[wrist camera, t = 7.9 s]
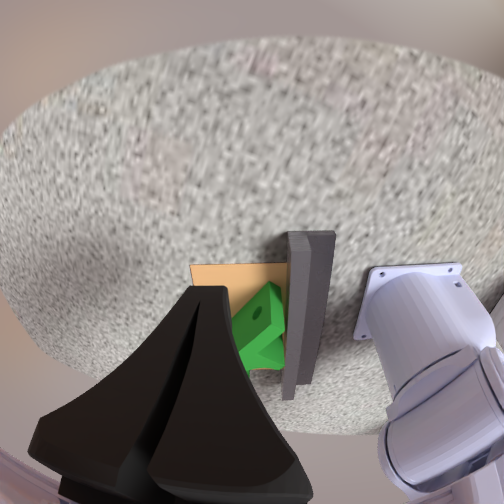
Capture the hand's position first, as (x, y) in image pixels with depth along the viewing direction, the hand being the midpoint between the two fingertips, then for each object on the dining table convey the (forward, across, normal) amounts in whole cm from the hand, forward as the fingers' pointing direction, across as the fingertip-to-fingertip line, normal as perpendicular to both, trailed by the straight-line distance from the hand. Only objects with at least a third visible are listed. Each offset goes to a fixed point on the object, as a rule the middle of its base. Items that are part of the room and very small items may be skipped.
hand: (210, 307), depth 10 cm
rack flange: (+9, -2, +11) cm, 15 cm away
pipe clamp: (+10, 0, +12) cm, 15 cm away
